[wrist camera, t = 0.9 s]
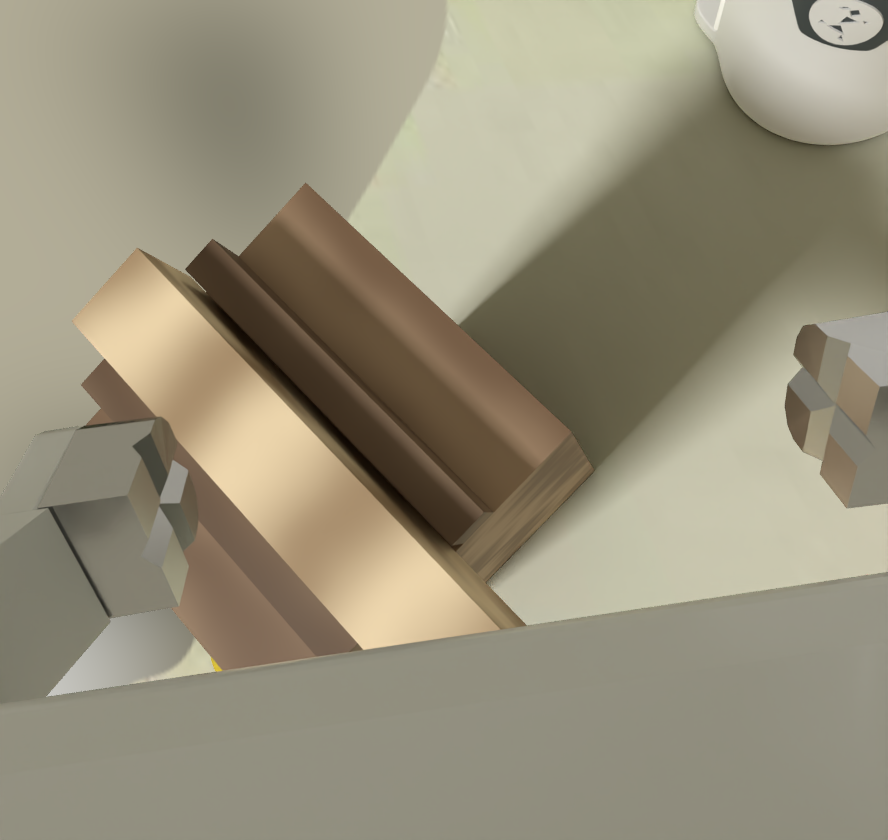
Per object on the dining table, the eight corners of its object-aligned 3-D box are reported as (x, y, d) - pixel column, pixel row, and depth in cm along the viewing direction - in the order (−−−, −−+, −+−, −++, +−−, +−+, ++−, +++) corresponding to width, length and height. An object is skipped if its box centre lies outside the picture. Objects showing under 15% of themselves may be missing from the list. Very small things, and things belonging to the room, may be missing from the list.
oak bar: (132, 342, 31) (71, 321, 27) (191, 277, 30) (137, 247, 27) (575, 831, 25) (569, 881, 22) (653, 756, 25) (658, 795, 21)
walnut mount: (449, 333, 55) (283, 159, 28) (594, 470, 52) (568, 425, 25) (306, 484, 56) (13, 459, 29) (440, 629, 53) (250, 753, 26)
